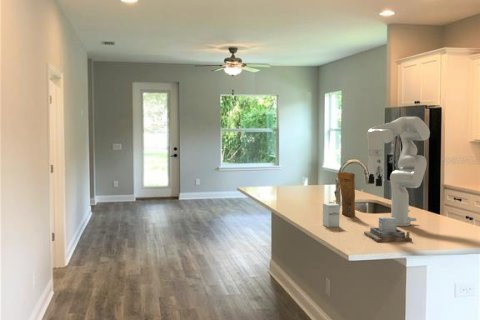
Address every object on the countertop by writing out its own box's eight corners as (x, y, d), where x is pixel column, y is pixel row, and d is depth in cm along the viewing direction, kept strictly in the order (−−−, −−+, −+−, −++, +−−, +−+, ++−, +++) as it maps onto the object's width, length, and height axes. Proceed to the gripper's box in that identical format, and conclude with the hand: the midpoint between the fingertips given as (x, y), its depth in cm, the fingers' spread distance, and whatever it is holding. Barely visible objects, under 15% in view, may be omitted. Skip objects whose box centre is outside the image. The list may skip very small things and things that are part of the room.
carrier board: (396, 233, 260) (396, 225, 260) (411, 241, 242) (412, 232, 242) (363, 234, 258) (364, 225, 258) (376, 242, 240) (376, 233, 240)
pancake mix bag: (349, 218, 305) (350, 173, 303) (335, 213, 323) (336, 170, 321) (359, 217, 306) (359, 173, 305) (345, 212, 325) (345, 170, 323)
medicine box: (392, 233, 253) (393, 217, 252) (396, 235, 248) (396, 218, 248) (378, 234, 252) (378, 217, 251) (381, 236, 247) (382, 219, 247)
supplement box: (327, 227, 276) (328, 205, 276) (322, 224, 284) (322, 203, 283) (339, 226, 278) (340, 204, 278) (333, 224, 286) (334, 202, 285)
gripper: (388, 154, 253) (388, 186, 254) (375, 151, 270) (375, 182, 271) (375, 154, 252) (375, 187, 253) (362, 152, 269) (362, 183, 270)
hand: (375, 184), depth 262 cm, fingers open, 9 cm apart
